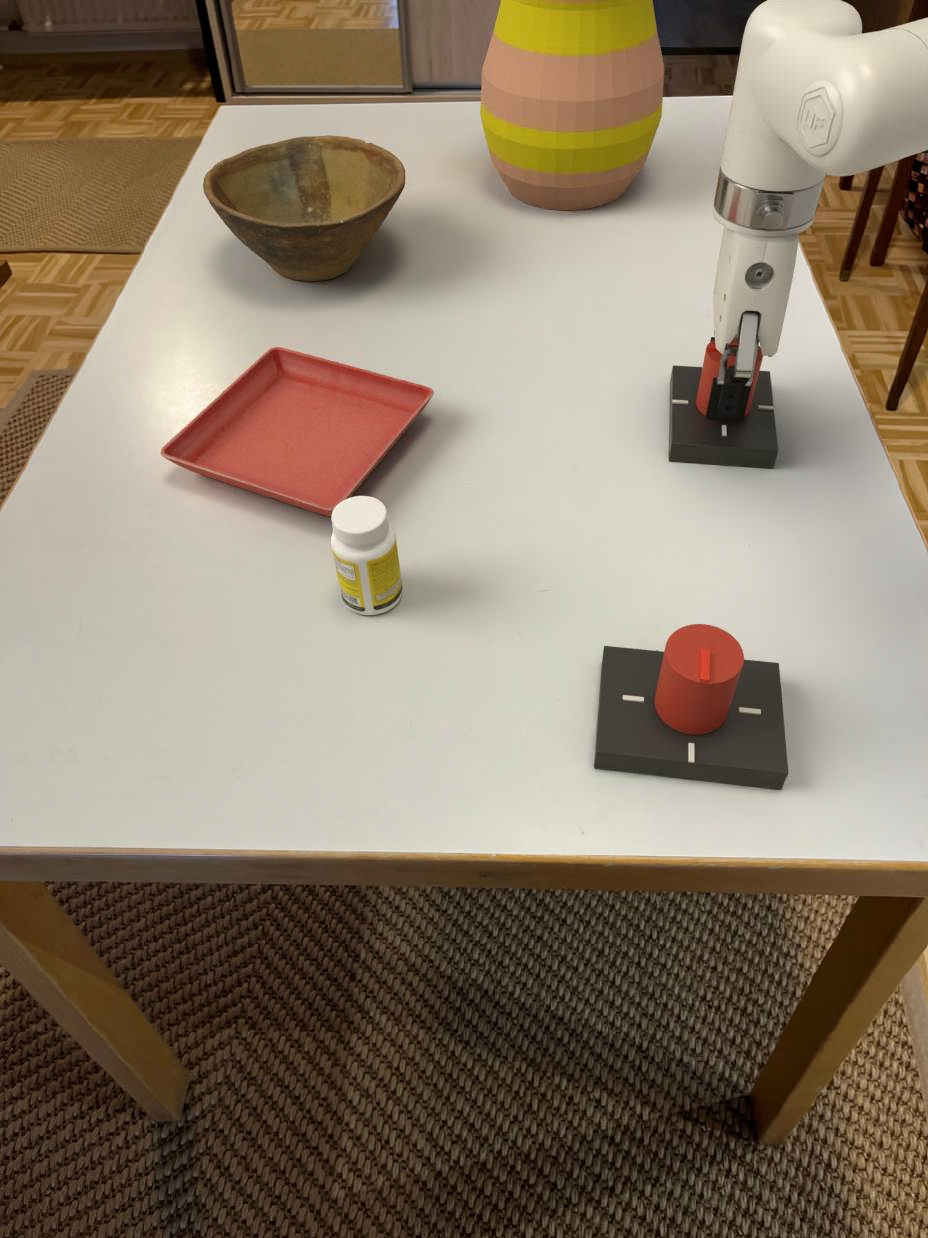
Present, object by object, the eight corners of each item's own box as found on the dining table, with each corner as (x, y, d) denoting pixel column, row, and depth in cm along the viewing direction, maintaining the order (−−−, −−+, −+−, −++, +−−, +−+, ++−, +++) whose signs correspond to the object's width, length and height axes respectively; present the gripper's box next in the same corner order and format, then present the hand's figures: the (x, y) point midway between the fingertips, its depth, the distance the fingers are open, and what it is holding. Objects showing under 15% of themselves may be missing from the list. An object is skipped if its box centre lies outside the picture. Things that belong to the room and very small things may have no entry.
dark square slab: (669, 382, 89) (672, 363, 87) (765, 388, 88) (770, 369, 86) (668, 461, 81) (671, 441, 80) (773, 469, 80) (779, 449, 78)
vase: (468, 156, 125) (461, -124, 103) (626, 141, 127) (653, -138, 104) (498, 231, 111) (497, -76, 88) (675, 212, 112) (719, -93, 90)
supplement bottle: (404, 572, 73) (395, 491, 67) (400, 617, 70) (390, 536, 64) (344, 572, 73) (329, 492, 67) (338, 617, 70) (321, 536, 64)
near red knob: (655, 672, 63) (667, 616, 59) (727, 681, 63) (744, 625, 58) (652, 730, 60) (664, 675, 56) (728, 739, 59) (746, 684, 55)
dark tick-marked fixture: (772, 680, 65) (779, 661, 63) (781, 790, 59) (789, 772, 58) (601, 662, 67) (604, 643, 65) (593, 768, 61) (596, 750, 59)
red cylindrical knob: (750, 391, 84) (763, 335, 80) (750, 423, 81) (764, 366, 77) (696, 387, 85) (707, 330, 81) (694, 418, 82) (705, 361, 78)
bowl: (408, 210, 115) (401, 125, 107) (415, 306, 100) (408, 215, 92) (232, 221, 114) (213, 137, 107) (212, 319, 99) (189, 229, 92)
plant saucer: (339, 539, 76) (333, 509, 73) (164, 481, 82) (154, 451, 79) (439, 417, 86) (437, 387, 84) (279, 373, 92) (273, 344, 90)
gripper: (831, 253, 63) (772, 462, 77) (807, 148, 74) (759, 347, 88) (719, 248, 64) (680, 455, 77) (712, 145, 75) (679, 342, 89)
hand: (723, 396), depth 82 cm, fingers open, 5 cm apart
